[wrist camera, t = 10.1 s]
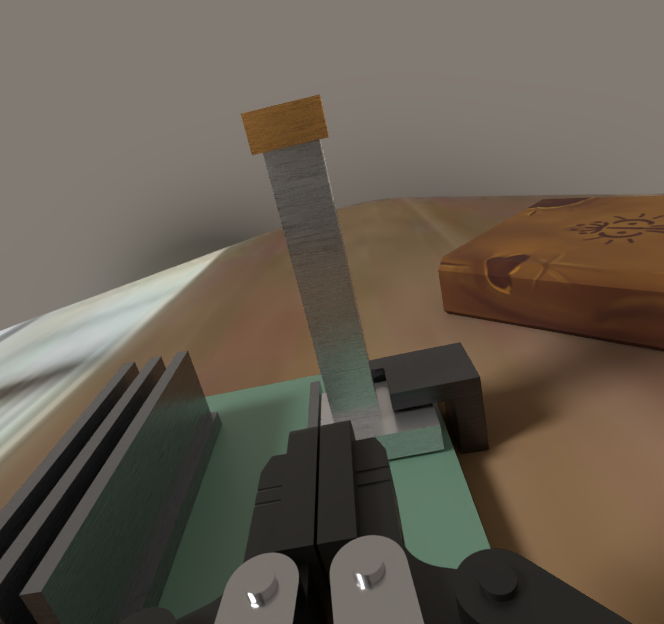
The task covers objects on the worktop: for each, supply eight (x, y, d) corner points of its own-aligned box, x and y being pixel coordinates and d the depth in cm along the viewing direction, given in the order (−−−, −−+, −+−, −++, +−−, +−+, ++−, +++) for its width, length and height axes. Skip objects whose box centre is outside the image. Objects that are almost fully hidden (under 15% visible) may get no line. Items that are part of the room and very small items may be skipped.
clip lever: (444, 449, 24) (382, 78, 18) (326, 470, 25) (226, 116, 18) (425, 395, 29) (371, 85, 23) (327, 414, 29) (247, 116, 23)
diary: (445, 321, 43) (436, 260, 41) (546, 251, 53) (543, 199, 51) (805, 387, 26) (821, 286, 24) (849, 264, 36) (863, 187, 34)
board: (554, 746, 14) (552, 715, 14) (-73, 827, 16) (-98, 802, 15) (422, 373, 34) (419, 354, 34) (155, 425, 36) (148, 408, 36)
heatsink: (591, 664, 16) (585, 499, 13) (8, 747, 17) (-97, 614, 15) (461, 390, 32) (447, 290, 29) (161, 447, 33) (123, 357, 31)
